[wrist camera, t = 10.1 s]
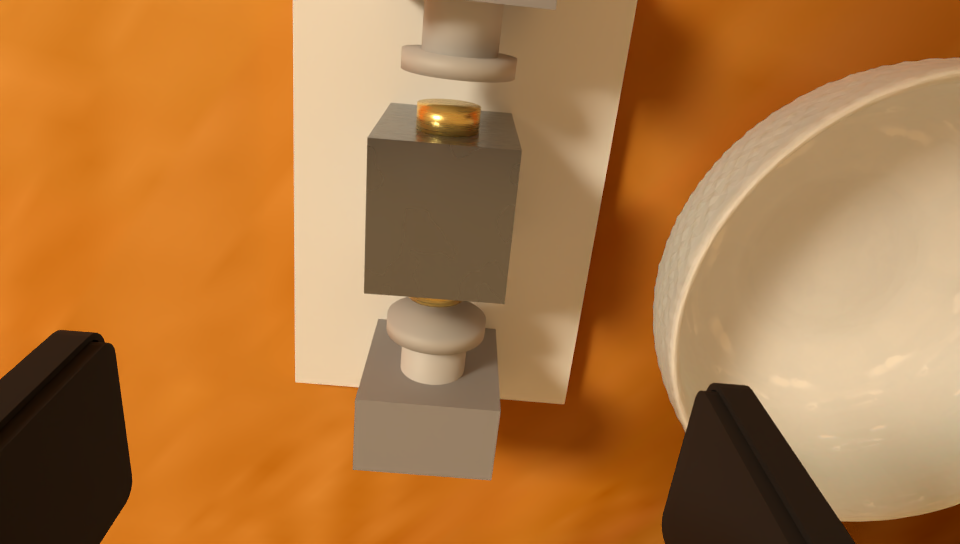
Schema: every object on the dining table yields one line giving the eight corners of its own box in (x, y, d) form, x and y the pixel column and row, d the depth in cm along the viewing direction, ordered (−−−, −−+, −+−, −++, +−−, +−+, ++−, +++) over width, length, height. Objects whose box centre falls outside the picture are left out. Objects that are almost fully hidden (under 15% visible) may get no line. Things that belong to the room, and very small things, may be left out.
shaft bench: (300, 370, 31) (254, 473, 24) (299, -137, 23) (230, -182, 16) (561, 391, 31) (584, 498, 25) (648, -96, 23) (713, -124, 17)
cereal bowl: (833, 469, 33) (920, 587, 27) (549, 316, 30) (570, 410, 23) (1118, 180, 28) (1317, 241, 21) (808, -50, 24) (931, -61, 18)
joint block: (391, 80, 25) (367, 109, 19) (513, 91, 25) (525, 123, 19) (385, 247, 27) (363, 315, 22) (496, 256, 28) (502, 326, 22)
